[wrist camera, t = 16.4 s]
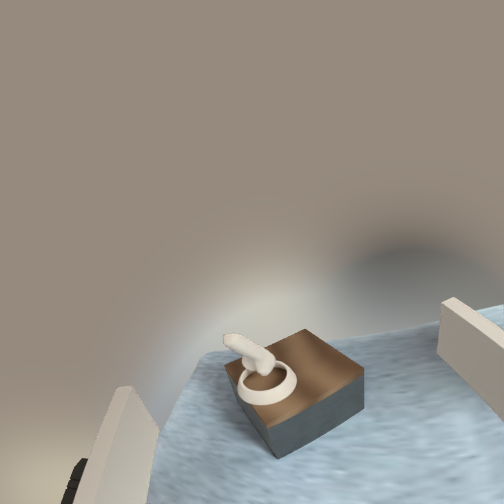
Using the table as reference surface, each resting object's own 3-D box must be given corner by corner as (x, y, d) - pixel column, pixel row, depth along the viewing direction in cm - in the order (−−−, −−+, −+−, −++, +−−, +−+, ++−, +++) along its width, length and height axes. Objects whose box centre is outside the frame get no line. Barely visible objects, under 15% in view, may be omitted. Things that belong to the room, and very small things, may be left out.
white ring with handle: (188, 393, 29) (197, 335, 33) (250, 410, 36) (253, 364, 41) (246, 392, 25) (251, 325, 29) (301, 408, 33) (301, 357, 37)
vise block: (311, 366, 48) (305, 328, 46) (363, 408, 35) (363, 368, 33) (237, 401, 43) (224, 365, 41) (277, 459, 31) (265, 423, 28)
